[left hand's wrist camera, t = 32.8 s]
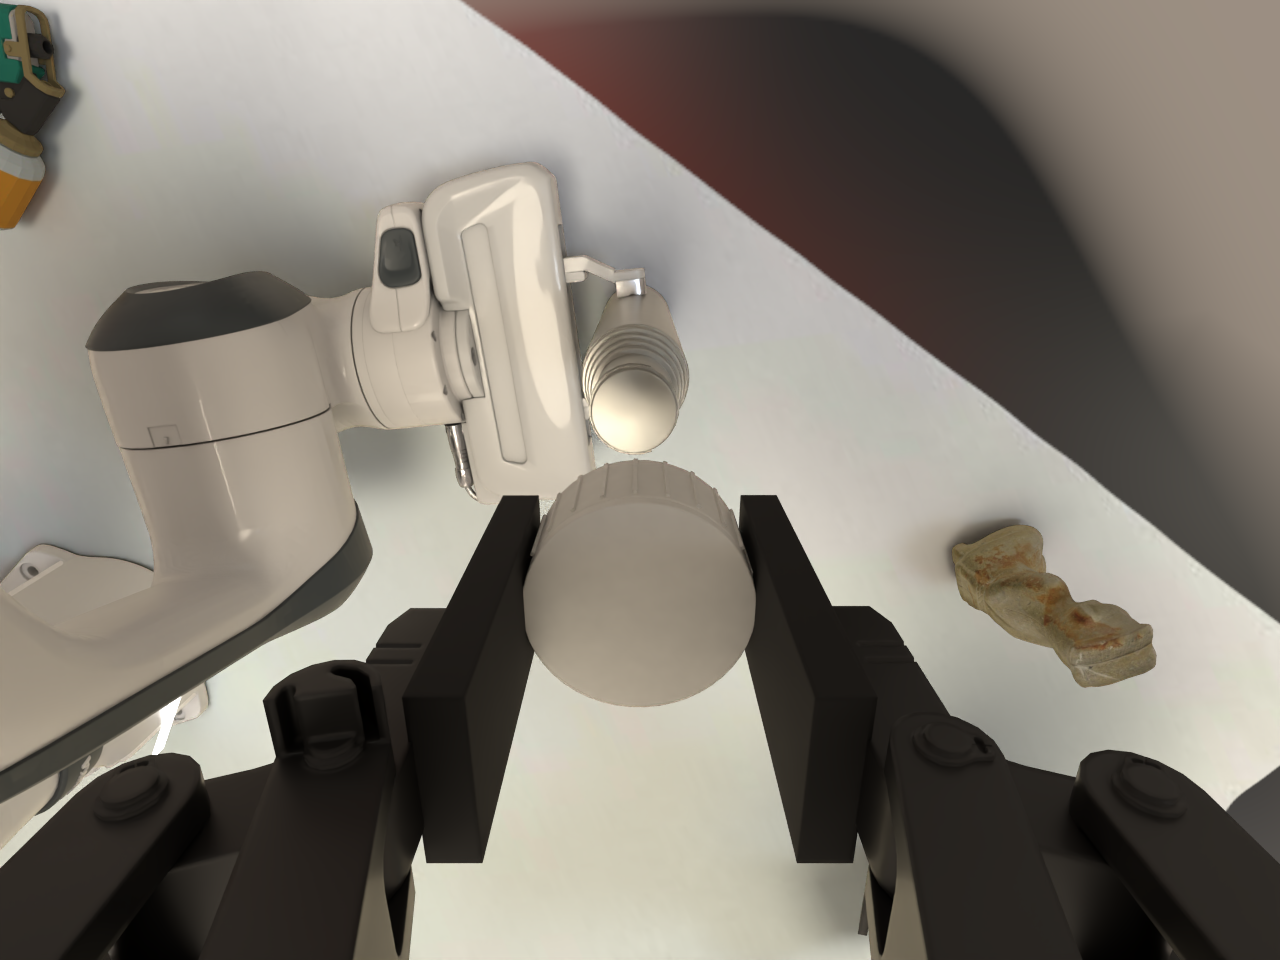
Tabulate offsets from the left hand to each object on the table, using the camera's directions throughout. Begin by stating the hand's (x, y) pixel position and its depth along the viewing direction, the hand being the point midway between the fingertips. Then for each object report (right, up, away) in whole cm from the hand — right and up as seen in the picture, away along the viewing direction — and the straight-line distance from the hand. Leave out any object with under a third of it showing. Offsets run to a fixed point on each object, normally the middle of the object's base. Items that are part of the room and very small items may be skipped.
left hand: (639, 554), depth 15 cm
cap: (0, -1, -2) cm, 2 cm away
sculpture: (+28, -4, +40) cm, 49 cm away
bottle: (0, +13, +34) cm, 36 cm away
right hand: (+1, +11, +27) cm, 29 cm away
